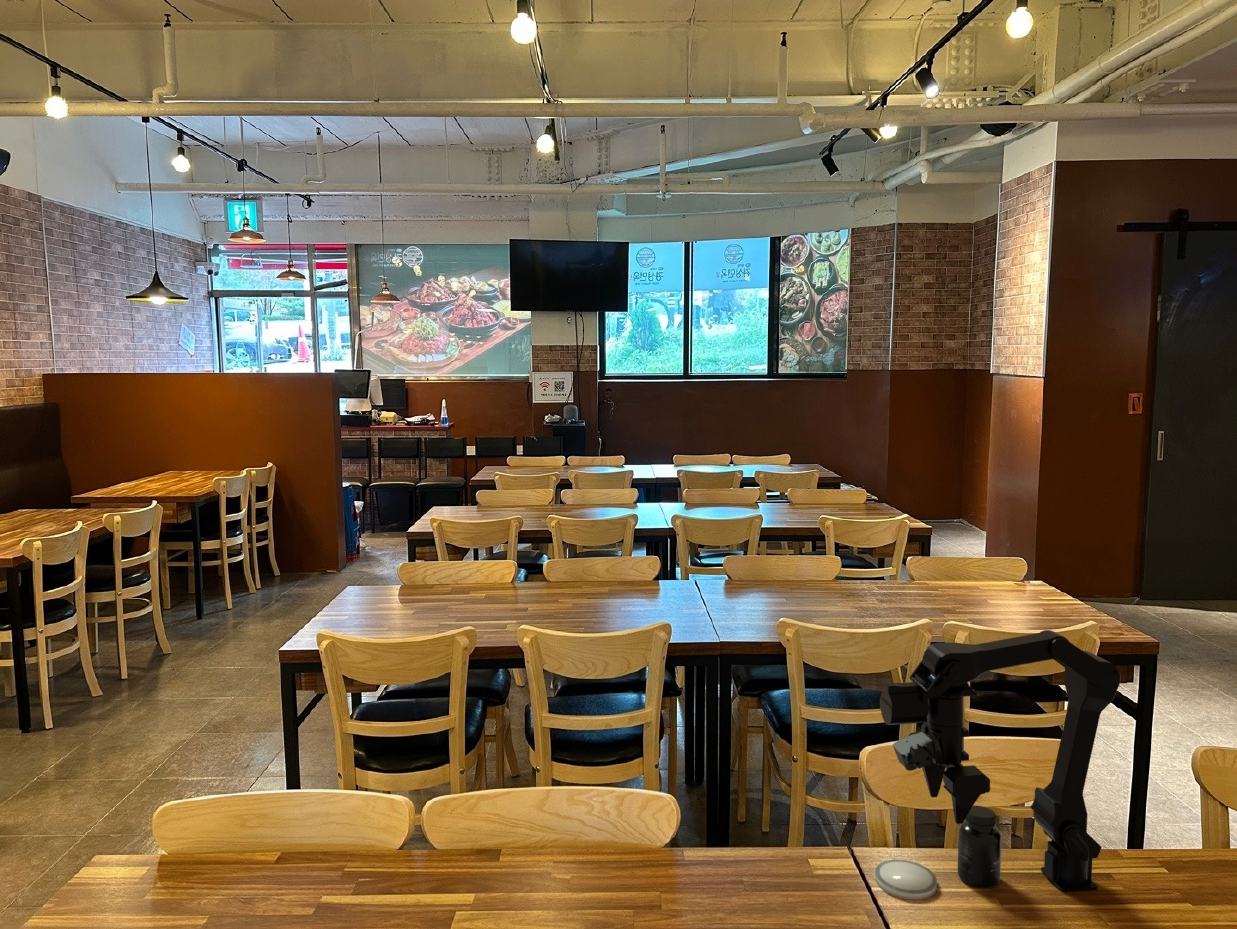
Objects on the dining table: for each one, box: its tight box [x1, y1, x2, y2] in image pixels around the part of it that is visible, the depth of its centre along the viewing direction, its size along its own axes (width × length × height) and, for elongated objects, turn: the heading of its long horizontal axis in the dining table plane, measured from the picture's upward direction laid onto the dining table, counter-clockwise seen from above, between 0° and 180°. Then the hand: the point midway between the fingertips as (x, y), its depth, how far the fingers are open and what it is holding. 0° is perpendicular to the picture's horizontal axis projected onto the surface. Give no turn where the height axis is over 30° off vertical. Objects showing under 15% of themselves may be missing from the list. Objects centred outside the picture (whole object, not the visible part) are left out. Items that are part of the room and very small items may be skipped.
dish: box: [874, 859, 938, 901], centre depth 147 cm, size 10×10×1 cm
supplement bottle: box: [957, 804, 1003, 889], centre depth 147 cm, size 7×7×12 cm
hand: (946, 809), depth 145 cm, fingers open, 9 cm apart
